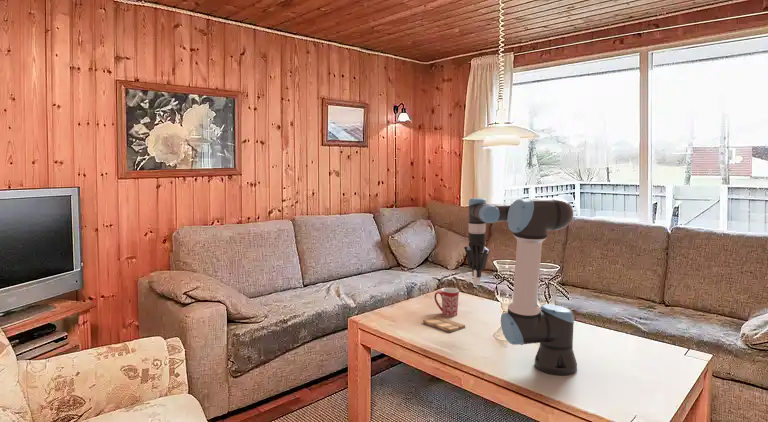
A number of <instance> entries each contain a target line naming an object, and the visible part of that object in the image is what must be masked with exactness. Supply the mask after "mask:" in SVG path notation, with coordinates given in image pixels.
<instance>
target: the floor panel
mask: <svg viewBox="0 0 768 422" xmlns="http://www.w3.org/2000/svg"><path fill="white" fill-rule="evenodd" d="M433 318H434V319H437V320H440V321H443V322H446V323H449V324H452V325H455V326H458V327H459V330H456V331H452V332H449V331H446V330H443V329H440V328H437V327H435V326H432V325H429V324H426V323H423V322H422V323H421V324H422V325H425V326H428V327H431V328H434V329H436V330H439V331H442V332H445V333H448V334H452V333H456V332H458V331H461V330H464V329H467V327H466V324H463V323H460V322H456V321H453V320H452V319H451V320H450V319H448V318H444V317H441V316H439V315H438V316H435V317H433Z"/></svg>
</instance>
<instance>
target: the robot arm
mask: <svg viewBox="0 0 768 422" xmlns="http://www.w3.org/2000/svg"><path fill="white" fill-rule="evenodd" d="M573 218H574V209H573V207H572V205H571V204H570V203H569V202H568V201H566V200H565V199H563V198H561V197H560V198H559V197H526V198H519V199H516V200H515V201H513V203H496V204H495V203H492V204H487V200H486V198H483V197H475V198H474V197H472V198H470V199H469V201H468V242H469V243H468V245H467V246H464V247H463V248H464V251H465V253H466V260H467V265H468V268H469V269H471V270H472V271H471V274H472V277H473V285H475V286H477V285H480V284H481V278H482V270H485V269H486V265H487V262H488V256H489V254H490V252H491V250H490V248H487V247H486V246H487V245H486V244H485V243H486V239H487V238H486V236H487V235H486V233H485V232H486V231H487V230H486V228H487V227H486V223H487V224H489V223H490V224H493V223H495V222H496V223H498V222H500V223H501V222H506V223H507V226H508V229H509V230H510V231H511V232H512V235H513V237H514V238H515V239H516V249H515V250H516V251H515V265H514V276H513V277H514V279H513V292H512V293H513V294H512V302H511V303H509V304H508V305H507V312H504V313H502V314H501V316H500V326H501V331H502V333H503V336H504V339H506V341H507V342H508V343H509V344H511V345H512V346H513V345H514V346H517V345H520V346H523V345H531V344H538V343H539V346H538V349H537V351H536V354H535V356H534V357H535V358H534V367H535V368H536V369H537V370H538V371H541V372H543V373H545V374H549V375H555V376H568V375H572V374H575V373H576V372H578V371H577V370H578V363H577V359H576V356H575V353H574V348H573V347H574V345H573V344H574V342H573V341H574V324H575V320H574V313H573V311H572V310H571V309H570V308H568V307H565V306H561V305H557V304H552V303H551V304H550V303H548V304H547V303H545V304H541V306H539V305H538V299H539V287H540V285H539V284H540V274H541V273H540V272H541V263H542V261H541V259H542V249H543V242H544V241H546V240H547V239H548V232H551V231H559V230H562V229H564V228H566V227H568V226H569V225H570V224H571V223H572V220H573Z"/></svg>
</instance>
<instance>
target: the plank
mask: <svg viewBox="0 0 768 422" xmlns="http://www.w3.org/2000/svg"><path fill="white" fill-rule="evenodd" d="M422 323H426V324H429V325H432V326H435V327H437V328H440V329H443V330H446V331H449V332H452V331H456V330H459V327H458V326H455V325H452V324H449V323H446V322H443V321H440V320H437V319H434V317H431V318H427V319H426V318H425V319H424V320H423V322H422ZM459 331H460V330H459ZM456 332H457V331H456Z"/></svg>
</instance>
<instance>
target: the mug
mask: <svg viewBox="0 0 768 422" xmlns="http://www.w3.org/2000/svg"><path fill="white" fill-rule="evenodd" d="M438 294H439V295H440V297H441V305H440V304H439V301H438V299H437V295H438ZM459 294H460V289H458V288H455V287H443V288H441V289H440V291H437V292H435V293H434V295H433V296H434V302H435V304H436V305H437V307H438V308H439V310H440V311H441V313H442V315H443V316H444V317H447V318H452V317H453V318H454V317H456V316H458V311H459V310H458V308H459V307H458V306H459V296H460V295H459Z"/></svg>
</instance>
